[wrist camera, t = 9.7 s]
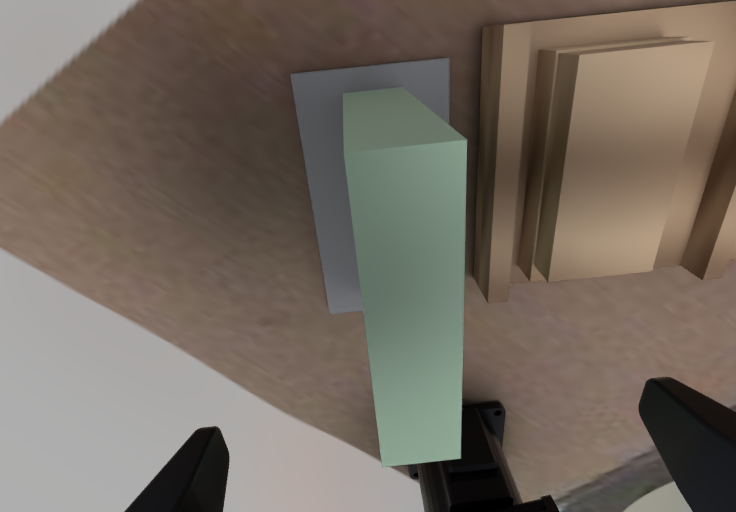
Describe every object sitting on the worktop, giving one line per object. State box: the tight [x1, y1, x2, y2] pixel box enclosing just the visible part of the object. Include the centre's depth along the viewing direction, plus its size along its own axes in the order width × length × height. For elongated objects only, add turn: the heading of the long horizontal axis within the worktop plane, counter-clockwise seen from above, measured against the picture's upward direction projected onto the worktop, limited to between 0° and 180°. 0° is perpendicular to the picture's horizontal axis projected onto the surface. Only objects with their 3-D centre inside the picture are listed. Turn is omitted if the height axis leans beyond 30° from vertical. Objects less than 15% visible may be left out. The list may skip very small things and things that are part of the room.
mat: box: [290, 58, 450, 314], centre depth 20 cm, size 12×6×1 cm, turn 5°
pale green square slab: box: [343, 87, 467, 467], centre depth 15 cm, size 10×2×10 cm, turn 5°
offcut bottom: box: [518, 37, 691, 282], centre depth 18 cm, size 10×5×2 cm, turn 5°
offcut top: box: [534, 41, 715, 282], centre depth 17 cm, size 9×5×2 cm, turn 5°
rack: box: [474, 1, 736, 303], centre depth 19 cm, size 12×16×2 cm
